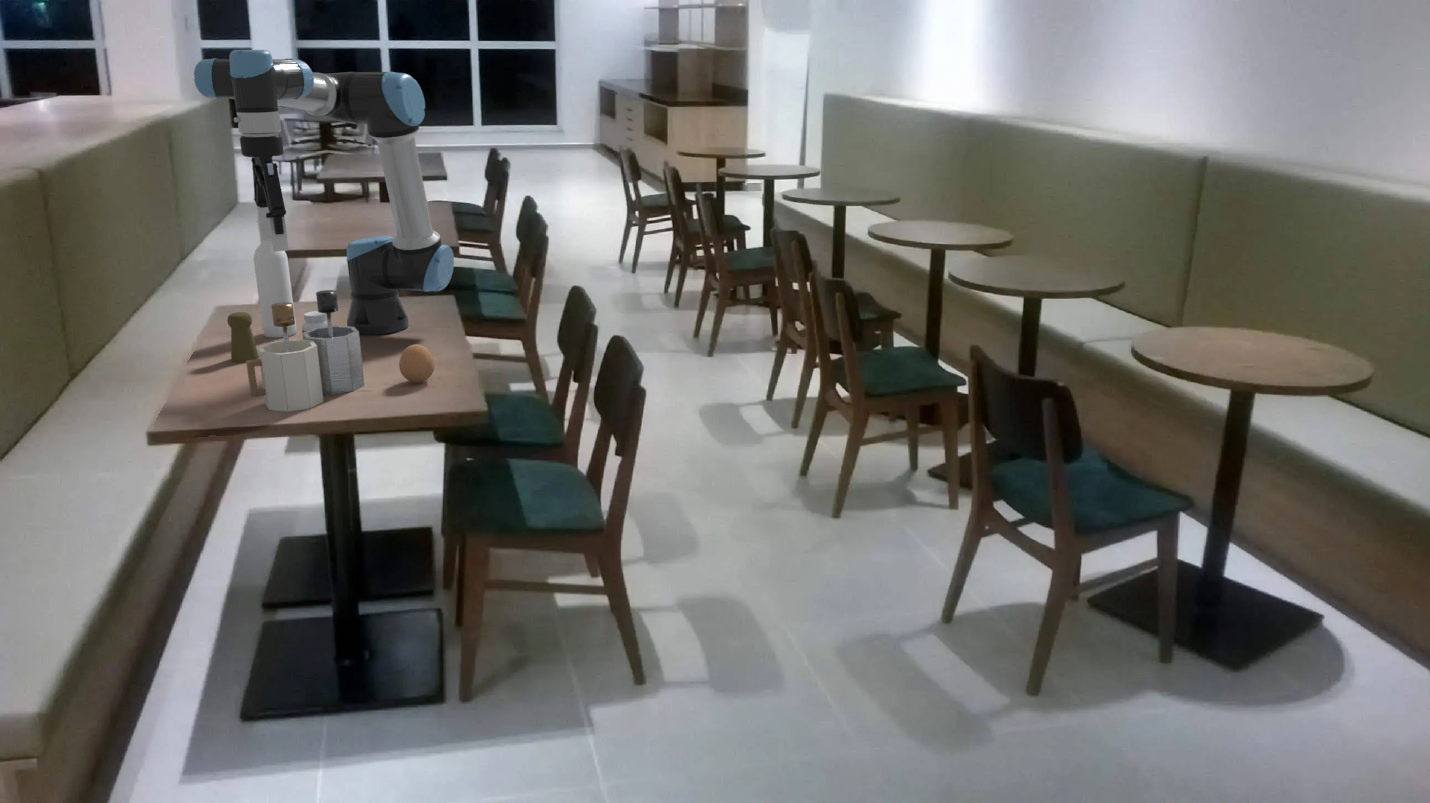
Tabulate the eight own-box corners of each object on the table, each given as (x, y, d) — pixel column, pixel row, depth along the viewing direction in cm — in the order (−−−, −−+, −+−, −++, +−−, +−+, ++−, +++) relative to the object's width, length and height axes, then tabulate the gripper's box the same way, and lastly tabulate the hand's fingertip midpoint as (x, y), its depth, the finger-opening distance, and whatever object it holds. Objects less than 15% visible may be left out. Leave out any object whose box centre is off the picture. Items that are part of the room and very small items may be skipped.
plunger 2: (348, 367, 241) (339, 287, 235) (355, 375, 235) (346, 293, 229) (315, 371, 237) (306, 290, 232) (322, 380, 232) (312, 297, 226)
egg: (406, 377, 243) (403, 340, 241) (439, 377, 243) (436, 340, 240) (396, 387, 236) (392, 349, 234) (430, 387, 236) (427, 349, 233)
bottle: (300, 335, 276) (285, 215, 267) (268, 339, 272) (251, 218, 263) (292, 328, 283) (277, 211, 273) (260, 332, 278) (244, 214, 269)
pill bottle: (301, 363, 253) (296, 316, 250) (310, 355, 259) (304, 310, 256) (329, 363, 254) (323, 316, 250) (337, 355, 259) (331, 310, 256)
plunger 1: (306, 382, 230) (296, 299, 224) (313, 391, 225) (303, 306, 219) (272, 387, 227) (261, 303, 221) (278, 396, 221) (266, 310, 216)
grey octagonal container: (356, 375, 244) (350, 323, 240) (368, 388, 235) (362, 334, 231) (293, 385, 238) (286, 331, 234) (303, 398, 229) (296, 343, 225)
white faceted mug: (316, 391, 234) (309, 337, 230) (326, 405, 225) (320, 349, 221) (249, 401, 227) (241, 345, 223) (257, 416, 218) (249, 358, 215)
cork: (249, 363, 253) (242, 316, 250) (225, 361, 254) (218, 315, 251) (264, 356, 259) (258, 310, 255) (241, 354, 260) (234, 309, 257)
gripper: (230, 130, 218) (244, 236, 225) (249, 141, 197) (265, 257, 204) (270, 128, 221) (283, 233, 228) (293, 139, 201) (307, 253, 208)
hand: (274, 245), depth 216 cm, fingers open, 13 cm apart
